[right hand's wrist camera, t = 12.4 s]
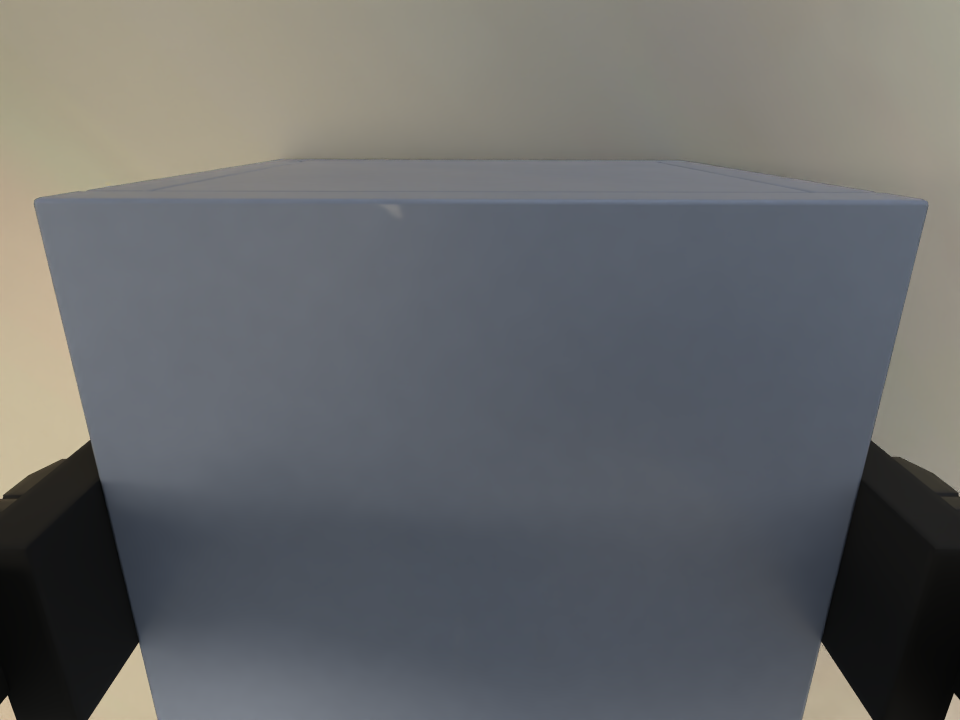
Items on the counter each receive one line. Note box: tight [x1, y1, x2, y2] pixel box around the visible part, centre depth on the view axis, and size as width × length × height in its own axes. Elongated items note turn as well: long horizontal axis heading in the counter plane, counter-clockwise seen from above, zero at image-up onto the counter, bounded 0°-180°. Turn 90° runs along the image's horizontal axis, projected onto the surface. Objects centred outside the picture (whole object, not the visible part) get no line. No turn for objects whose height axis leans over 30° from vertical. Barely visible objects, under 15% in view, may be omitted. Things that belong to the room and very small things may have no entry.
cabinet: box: [34, 159, 928, 720], centre depth 15 cm, size 20×10×9 cm, turn 0°
